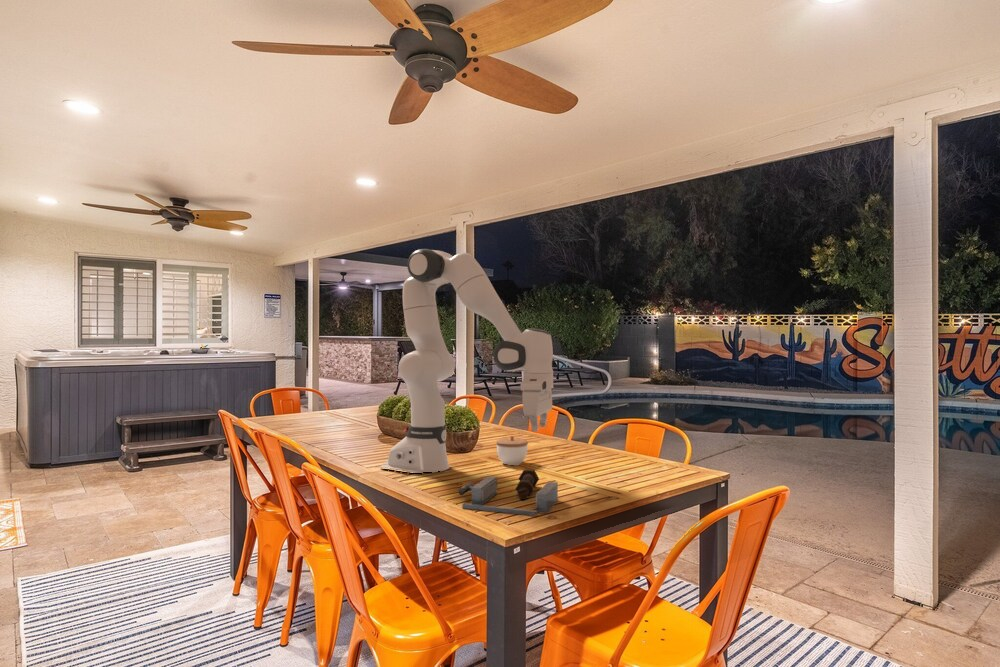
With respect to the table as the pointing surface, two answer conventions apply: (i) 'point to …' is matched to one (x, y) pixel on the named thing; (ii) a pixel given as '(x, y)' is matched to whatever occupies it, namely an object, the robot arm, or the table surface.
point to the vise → (543, 502)
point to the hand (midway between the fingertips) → (539, 428)
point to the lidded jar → (512, 450)
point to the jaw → (481, 490)
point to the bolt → (526, 483)
